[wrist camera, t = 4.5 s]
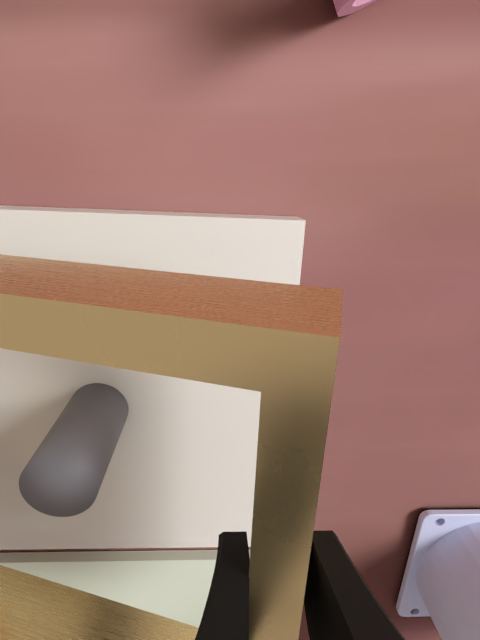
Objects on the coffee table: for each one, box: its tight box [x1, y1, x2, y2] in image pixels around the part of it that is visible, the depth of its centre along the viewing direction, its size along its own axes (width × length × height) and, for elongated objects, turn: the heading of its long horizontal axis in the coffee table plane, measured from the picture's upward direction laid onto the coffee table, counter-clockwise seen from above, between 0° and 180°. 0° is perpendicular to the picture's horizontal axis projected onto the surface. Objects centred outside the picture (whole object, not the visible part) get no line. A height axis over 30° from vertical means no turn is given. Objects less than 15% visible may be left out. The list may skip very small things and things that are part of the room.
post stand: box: [0, 205, 306, 550], centre depth 15 cm, size 16×16×6 cm
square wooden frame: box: [0, 254, 343, 640], centre depth 12 cm, size 14×14×3 cm
